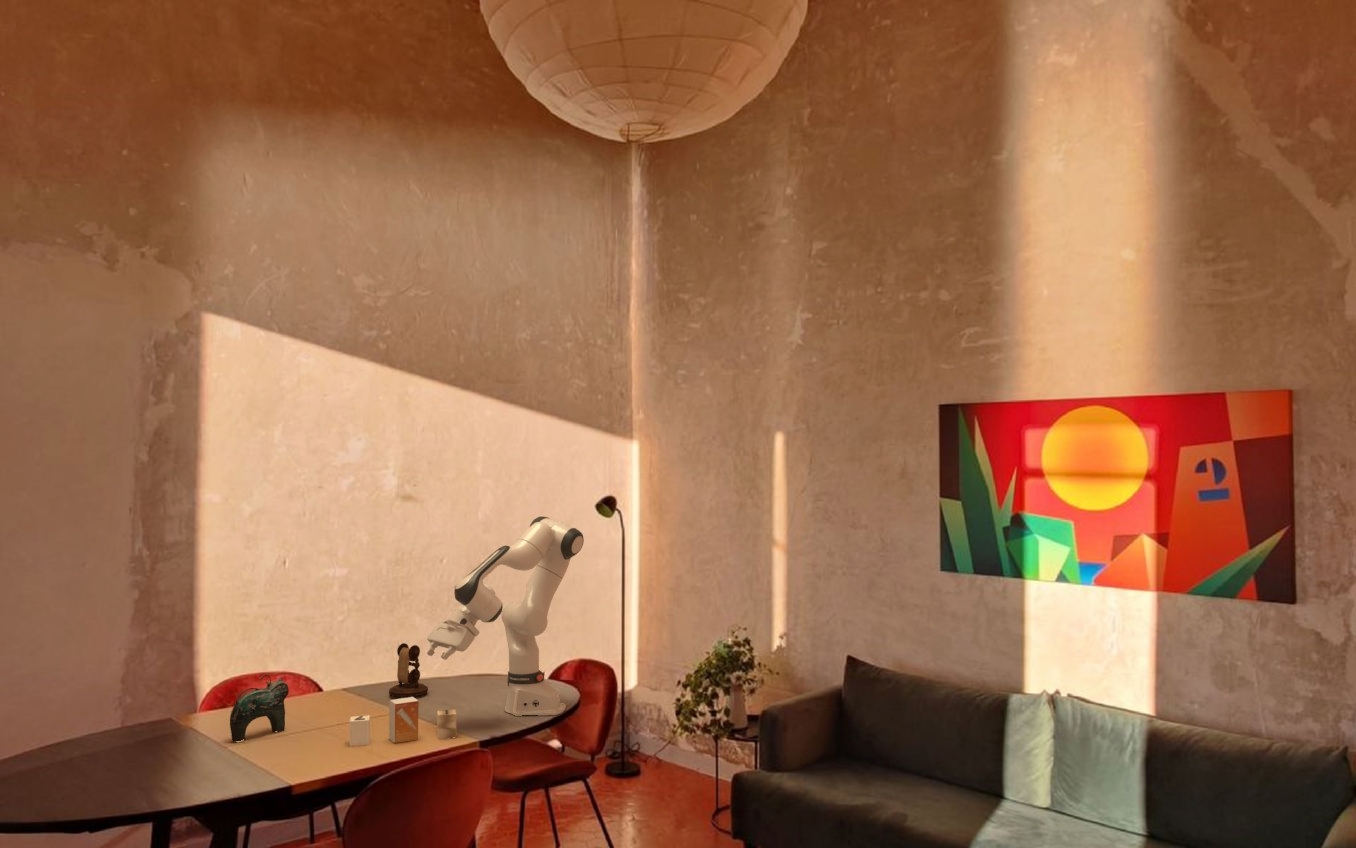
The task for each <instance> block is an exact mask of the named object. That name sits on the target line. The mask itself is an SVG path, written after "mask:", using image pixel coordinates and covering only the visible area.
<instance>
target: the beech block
mask: <svg viewBox="0 0 1356 848" xmlns="http://www.w3.org/2000/svg"><path fill="white" fill-rule="evenodd" d="M436 711H437V712H436V714H437V715H436V716H437V717H436V720H437V721H436V725H437V726H436V729H437V730H436V731H437V732H436V733H437V740H447V739H448V738H450V739H454V738H453V737H456V738H457V710H456V709H455V708H454V709H444V710H436Z"/></svg>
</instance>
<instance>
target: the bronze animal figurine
mask: <svg viewBox="0 0 1356 848" xmlns="http://www.w3.org/2000/svg"><path fill="white" fill-rule="evenodd" d="M264 677H268V679H269V681H265V683H266V684H267V686H266V687H264V688H257V687H249V688H246V689H244V690H243V691H241V692H239V694H238V696H237V697H236V700H235V703H234V705H233V707H232V710H231V711H230V716H229V728H230V734H231V741H232V740H233V741H241V740H243V739H245V740H246V732H247V728H248V727H249V725H250V723H252V722H253V721H254V720H256V719H259V718H263V717H267V719H268V720H269V723H270V727H271V732H273V731H280V732H282V731H281V730H284V729H286V728H285V727H286V720H285V719H286V718H285V717H286V708H285V707H286V706H285V700H286V698H287V697H288V695H289V691H290V690H289V685H288V684H287V683H286V682H285V681H283V678H282V676H279V679H277V680H275V681H272V679H271V676H270V675H268V674H264V675H262V676H261V677H260V678H259V680H260V681H262V679H263V678H264ZM271 681H272V682H271ZM249 690H250V691H249ZM251 690H252V691H251ZM248 691H249V692H248ZM245 692H247V693H245ZM284 731H285V730H284Z"/></svg>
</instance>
